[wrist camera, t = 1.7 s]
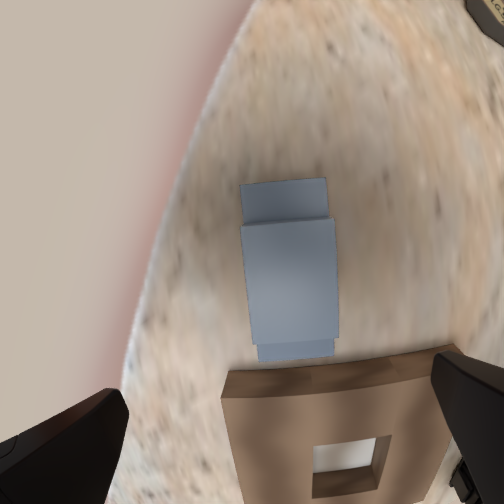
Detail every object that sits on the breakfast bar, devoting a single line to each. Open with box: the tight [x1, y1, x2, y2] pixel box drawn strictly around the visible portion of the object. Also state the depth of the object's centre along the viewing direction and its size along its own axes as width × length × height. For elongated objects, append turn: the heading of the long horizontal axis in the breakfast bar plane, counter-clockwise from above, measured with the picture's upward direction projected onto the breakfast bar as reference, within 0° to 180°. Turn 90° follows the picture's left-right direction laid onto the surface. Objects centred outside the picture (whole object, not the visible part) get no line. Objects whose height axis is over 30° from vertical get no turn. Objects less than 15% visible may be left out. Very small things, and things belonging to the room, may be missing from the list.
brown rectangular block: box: [221, 344, 464, 504], centre depth 21 cm, size 18×18×4 cm
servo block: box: [240, 177, 339, 362], centre depth 18 cm, size 4×10×6 cm, turn 6°
